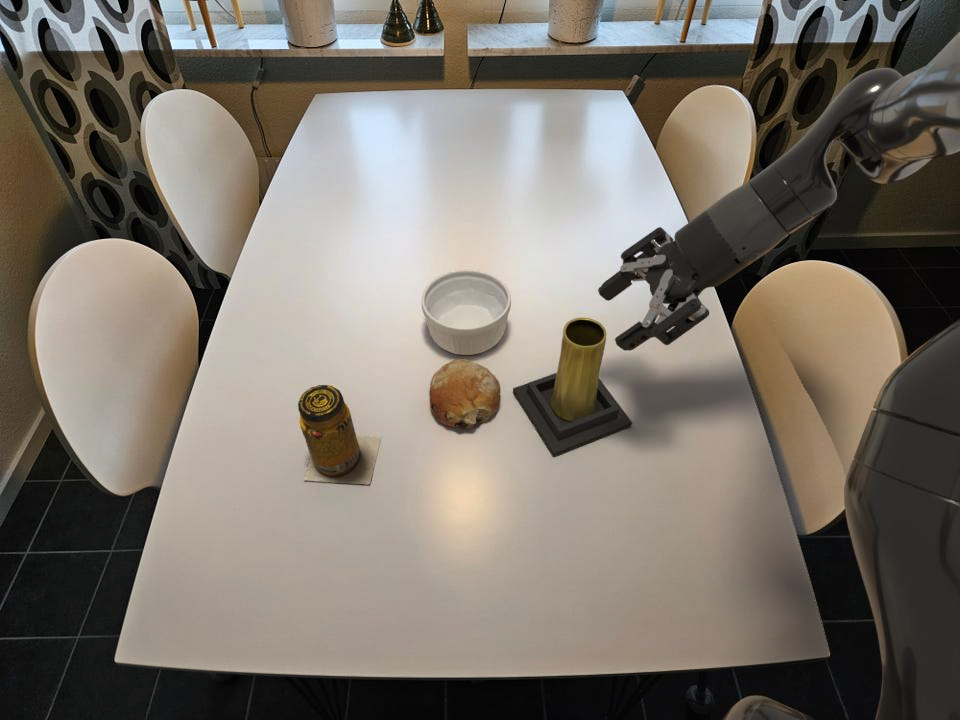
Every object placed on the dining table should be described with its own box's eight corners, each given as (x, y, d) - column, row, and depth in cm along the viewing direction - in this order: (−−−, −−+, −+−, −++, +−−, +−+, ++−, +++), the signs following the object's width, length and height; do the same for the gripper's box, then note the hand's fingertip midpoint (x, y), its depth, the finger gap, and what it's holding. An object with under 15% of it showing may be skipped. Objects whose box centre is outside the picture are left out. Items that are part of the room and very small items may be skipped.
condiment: (318, 434, 87) (299, 376, 78) (381, 438, 86) (369, 380, 77) (304, 481, 82) (282, 424, 73) (370, 486, 81) (356, 429, 72)
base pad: (631, 426, 87) (635, 413, 85) (553, 457, 84) (555, 444, 82) (586, 366, 95) (588, 352, 93) (512, 392, 91) (513, 378, 89)
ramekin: (414, 312, 103) (410, 279, 97) (492, 294, 105) (493, 260, 100) (438, 371, 94) (435, 338, 89) (522, 349, 97) (524, 316, 92)
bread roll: (504, 409, 94) (512, 359, 91) (485, 442, 85) (494, 388, 82) (440, 393, 96) (446, 344, 93) (415, 424, 87) (420, 370, 84)
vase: (603, 413, 88) (620, 340, 77) (564, 428, 86) (575, 356, 75) (580, 382, 91) (593, 308, 81) (542, 396, 90) (550, 323, 79)
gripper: (690, 178, 72) (578, 266, 80) (738, 259, 63) (606, 350, 70) (723, 215, 76) (614, 295, 84) (773, 295, 67) (644, 377, 75)
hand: (610, 319), depth 77 cm, fingers open, 8 cm apart
